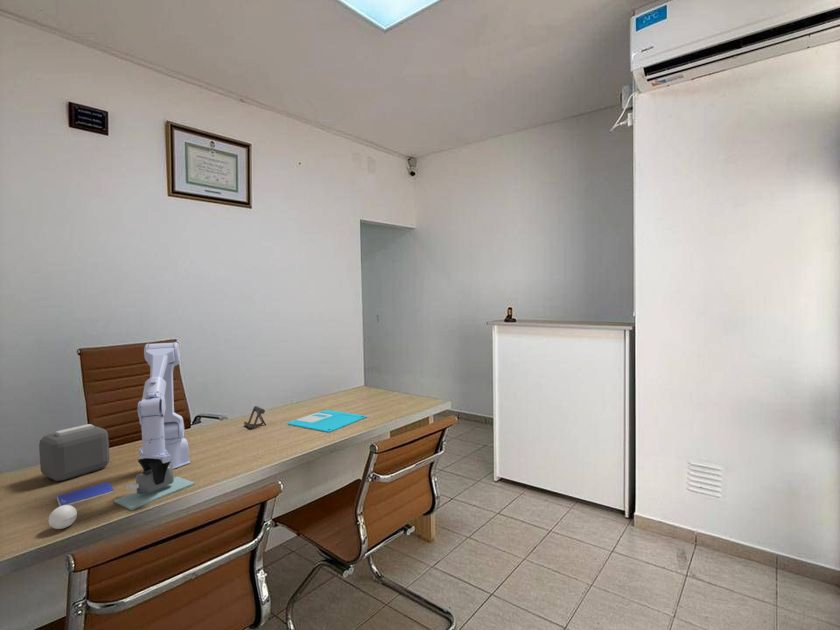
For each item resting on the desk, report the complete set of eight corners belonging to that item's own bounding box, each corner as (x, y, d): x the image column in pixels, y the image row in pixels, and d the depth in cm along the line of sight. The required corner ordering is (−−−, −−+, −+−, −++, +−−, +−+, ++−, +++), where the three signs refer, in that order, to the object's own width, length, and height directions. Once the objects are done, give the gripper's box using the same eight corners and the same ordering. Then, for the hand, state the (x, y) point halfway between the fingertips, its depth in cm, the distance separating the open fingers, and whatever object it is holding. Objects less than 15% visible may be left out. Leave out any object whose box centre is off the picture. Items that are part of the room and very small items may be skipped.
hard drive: (60, 504, 117) (113, 489, 126) (56, 495, 123) (108, 481, 132) (60, 509, 117) (113, 494, 126) (56, 500, 123) (108, 486, 132)
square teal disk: (329, 433, 178) (329, 431, 178) (285, 425, 193) (285, 423, 193) (367, 418, 200) (367, 416, 200) (325, 411, 215) (325, 409, 215)
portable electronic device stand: (243, 426, 192) (243, 408, 192) (260, 422, 197) (260, 405, 197) (250, 430, 186) (249, 411, 185) (267, 426, 191) (267, 408, 191)
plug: (169, 479, 130) (168, 463, 130) (176, 481, 128) (175, 465, 127) (124, 495, 119) (123, 478, 119) (131, 498, 117) (130, 481, 117)
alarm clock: (98, 461, 152) (96, 420, 152) (113, 467, 146) (110, 424, 146) (41, 478, 138) (38, 432, 138) (54, 485, 132) (51, 437, 132)
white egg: (56, 535, 102) (55, 513, 102) (44, 531, 105) (43, 509, 105) (91, 520, 109) (90, 499, 109) (79, 516, 112) (78, 496, 112)
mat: (177, 478, 135) (177, 476, 135) (195, 484, 130) (194, 482, 130) (114, 502, 119) (114, 500, 119) (131, 510, 114) (131, 508, 114)
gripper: (126, 437, 124) (129, 482, 125) (151, 445, 117) (153, 492, 117) (152, 431, 130) (154, 473, 131) (176, 438, 123) (179, 482, 123)
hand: (155, 481), depth 124 cm, fingers closed on plug, 4 cm apart
